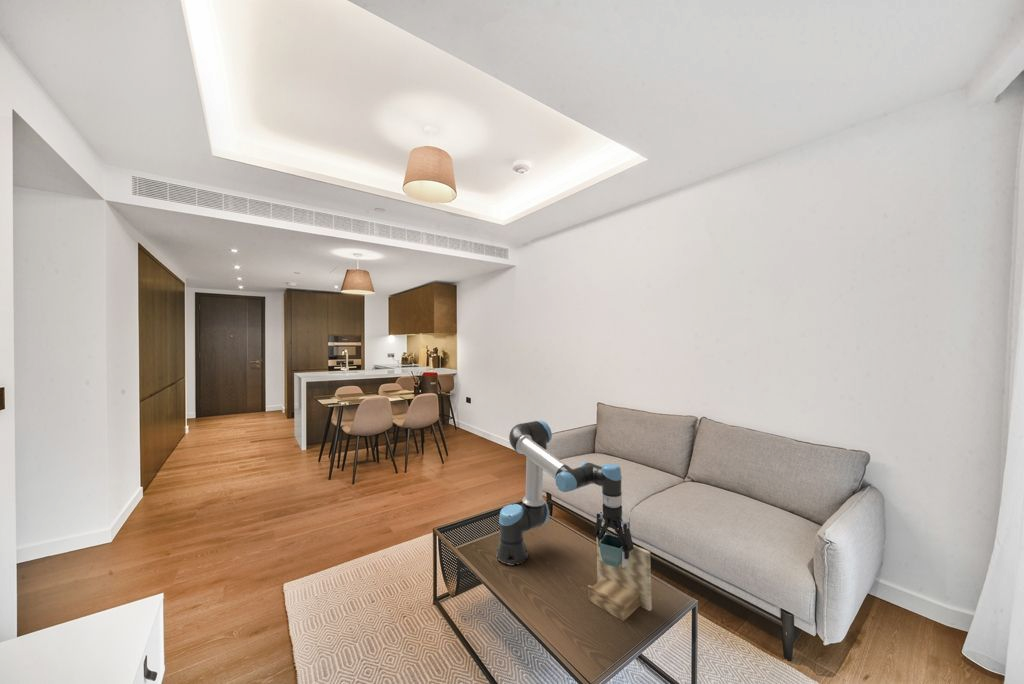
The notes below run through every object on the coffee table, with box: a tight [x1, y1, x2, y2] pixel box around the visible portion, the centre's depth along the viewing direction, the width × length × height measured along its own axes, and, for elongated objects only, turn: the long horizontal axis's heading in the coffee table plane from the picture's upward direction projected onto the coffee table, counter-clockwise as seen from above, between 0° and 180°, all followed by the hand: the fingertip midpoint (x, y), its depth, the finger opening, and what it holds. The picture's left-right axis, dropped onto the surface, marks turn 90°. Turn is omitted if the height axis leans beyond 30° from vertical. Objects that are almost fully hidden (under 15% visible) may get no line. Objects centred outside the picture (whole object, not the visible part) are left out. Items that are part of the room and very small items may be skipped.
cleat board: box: [587, 532, 653, 622], centre depth 147 cm, size 24×14×22 cm, turn 42°
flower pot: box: [599, 533, 623, 568], centre depth 147 cm, size 9×9×9 cm
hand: (613, 560), depth 147 cm, fingers closed on flower pot, 9 cm apart
